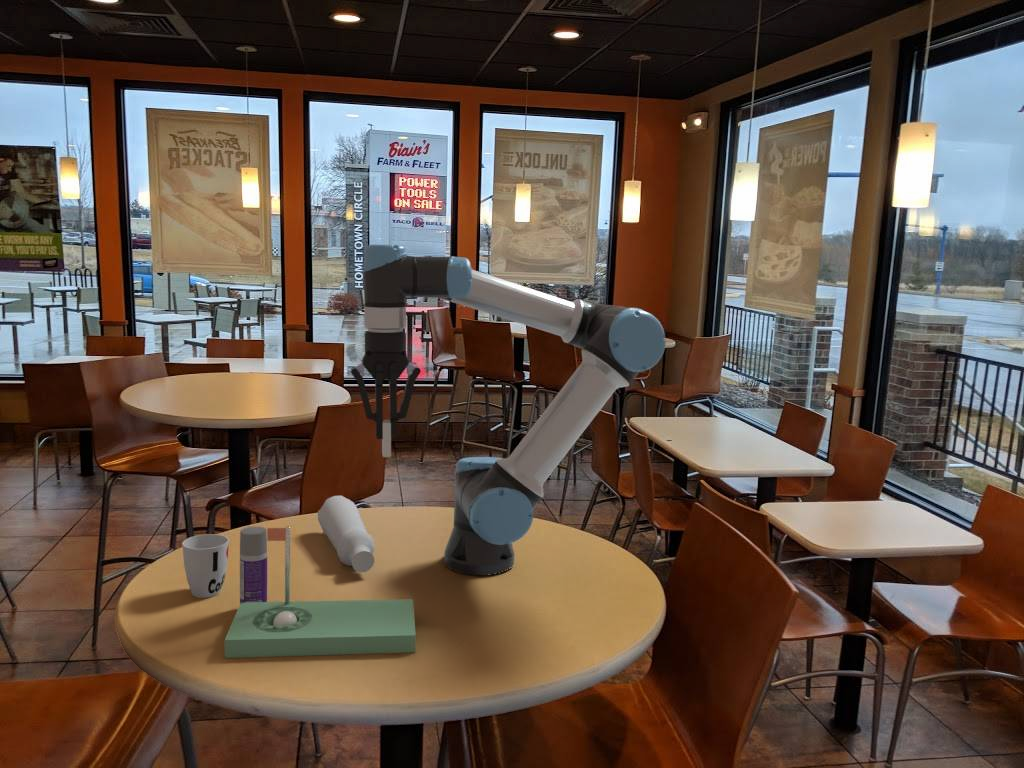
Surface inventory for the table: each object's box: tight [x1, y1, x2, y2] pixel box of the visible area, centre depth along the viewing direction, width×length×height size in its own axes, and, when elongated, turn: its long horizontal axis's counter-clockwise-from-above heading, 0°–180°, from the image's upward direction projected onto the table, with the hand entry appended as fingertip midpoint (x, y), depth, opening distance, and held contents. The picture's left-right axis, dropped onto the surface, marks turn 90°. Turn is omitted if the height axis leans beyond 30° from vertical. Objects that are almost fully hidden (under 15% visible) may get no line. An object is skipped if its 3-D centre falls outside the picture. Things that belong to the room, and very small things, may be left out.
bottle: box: [317, 495, 375, 573], centre depth 172 cm, size 9×9×30 cm
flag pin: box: [266, 525, 291, 605], centre depth 138 cm, size 4×1×14 cm, turn 99°
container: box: [239, 525, 268, 604], centre depth 141 cm, size 5×5×15 cm
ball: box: [273, 611, 298, 627], centre depth 134 cm, size 4×4×4 cm
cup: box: [181, 533, 230, 599], centre depth 148 cm, size 8×8×10 cm
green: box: [224, 598, 417, 659], centre depth 134 cm, size 30×14×3 cm, turn 99°
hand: (386, 455), depth 148 cm, fingers closed
